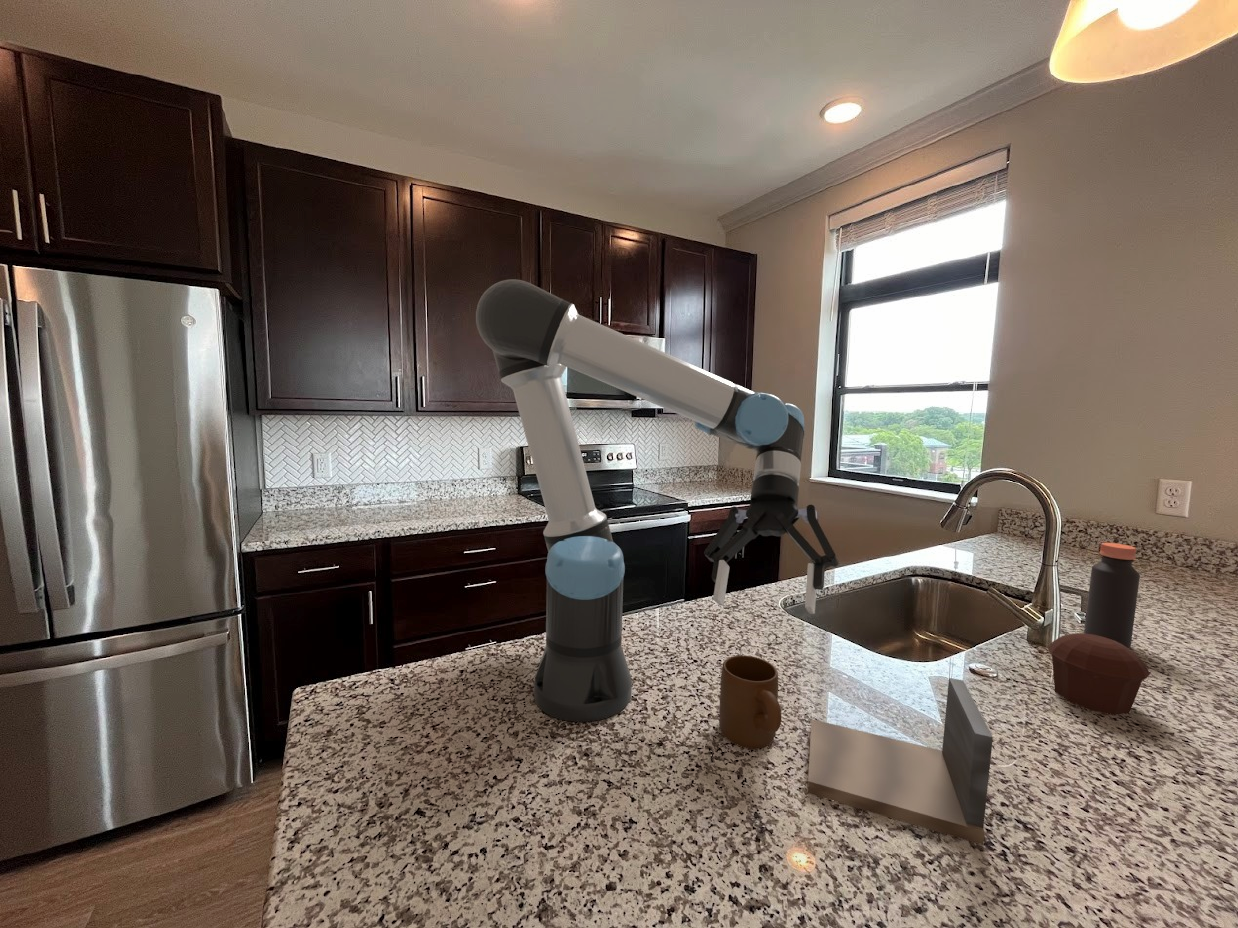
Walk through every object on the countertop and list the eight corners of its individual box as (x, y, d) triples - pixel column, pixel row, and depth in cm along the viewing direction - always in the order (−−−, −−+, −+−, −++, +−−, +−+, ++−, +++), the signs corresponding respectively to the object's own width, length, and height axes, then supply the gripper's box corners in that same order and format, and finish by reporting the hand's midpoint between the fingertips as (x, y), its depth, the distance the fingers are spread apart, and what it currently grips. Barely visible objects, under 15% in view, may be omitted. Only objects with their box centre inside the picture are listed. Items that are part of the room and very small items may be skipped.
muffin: (1040, 698, 79) (1047, 637, 78) (1044, 672, 87) (1050, 617, 86) (1148, 731, 71) (1158, 664, 70) (1141, 700, 79) (1149, 640, 78)
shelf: (807, 793, 58) (813, 699, 56) (810, 729, 69) (816, 650, 68) (983, 845, 51) (994, 740, 50) (953, 764, 63) (962, 678, 62)
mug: (803, 772, 61) (807, 700, 60) (744, 778, 60) (748, 704, 59) (760, 714, 73) (763, 653, 72) (710, 718, 71) (713, 655, 71)
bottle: (1124, 641, 101) (1136, 544, 99) (1135, 654, 95) (1149, 552, 93) (1079, 632, 104) (1090, 539, 102) (1088, 644, 99) (1099, 546, 97)
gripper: (860, 492, 80) (858, 623, 69) (714, 497, 93) (694, 607, 83) (852, 467, 74) (849, 604, 64) (699, 476, 88) (675, 590, 77)
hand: (761, 606), depth 73 cm, fingers open, 13 cm apart
